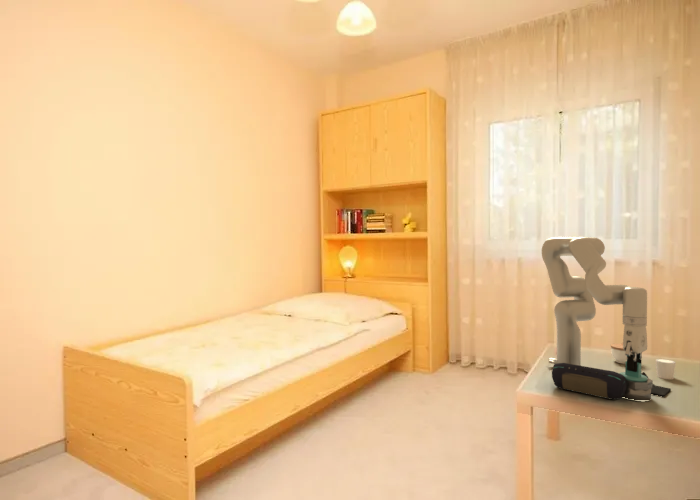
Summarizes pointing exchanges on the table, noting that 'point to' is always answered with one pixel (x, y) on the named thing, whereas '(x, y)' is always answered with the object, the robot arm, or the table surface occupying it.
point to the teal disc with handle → (634, 374)
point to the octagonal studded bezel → (638, 390)
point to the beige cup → (665, 368)
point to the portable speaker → (589, 380)
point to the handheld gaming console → (658, 389)
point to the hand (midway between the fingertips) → (634, 369)
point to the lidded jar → (618, 353)
